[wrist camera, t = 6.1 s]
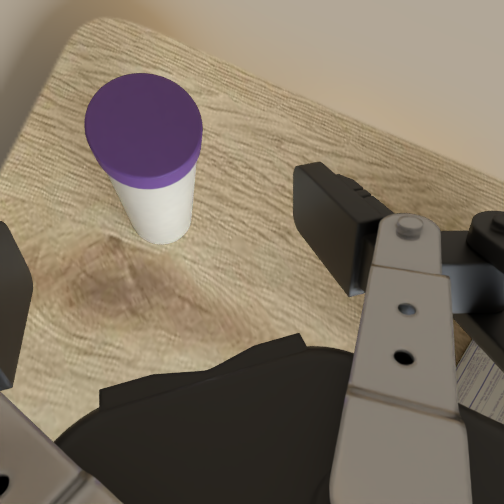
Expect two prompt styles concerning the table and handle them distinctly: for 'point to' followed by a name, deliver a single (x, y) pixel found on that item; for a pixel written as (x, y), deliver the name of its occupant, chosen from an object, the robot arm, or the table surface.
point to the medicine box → (480, 383)
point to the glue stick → (148, 150)
